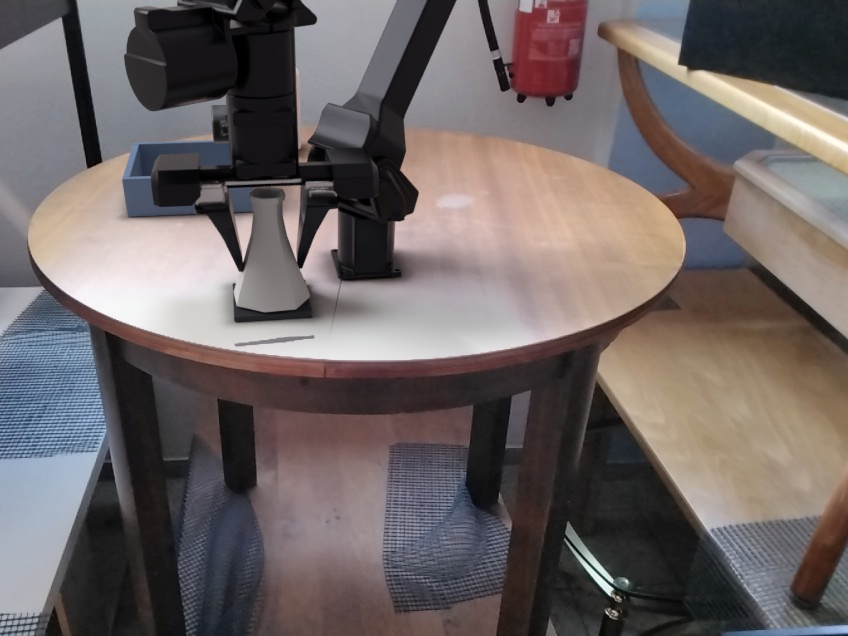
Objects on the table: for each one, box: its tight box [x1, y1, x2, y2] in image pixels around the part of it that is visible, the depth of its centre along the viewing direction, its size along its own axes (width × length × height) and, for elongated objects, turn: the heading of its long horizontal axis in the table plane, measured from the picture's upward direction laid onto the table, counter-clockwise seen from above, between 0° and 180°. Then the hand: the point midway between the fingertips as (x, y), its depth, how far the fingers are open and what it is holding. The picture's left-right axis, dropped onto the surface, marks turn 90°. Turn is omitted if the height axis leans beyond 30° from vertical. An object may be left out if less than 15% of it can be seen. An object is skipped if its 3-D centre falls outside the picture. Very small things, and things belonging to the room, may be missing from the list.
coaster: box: [232, 279, 313, 323], centre depth 74 cm, size 7×7×1 cm
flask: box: [234, 186, 311, 312], centre depth 71 cm, size 7×7×10 cm
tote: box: [121, 139, 254, 218], centre depth 97 cm, size 15×15×4 cm
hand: (270, 268), depth 72 cm, fingers open, 5 cm apart
